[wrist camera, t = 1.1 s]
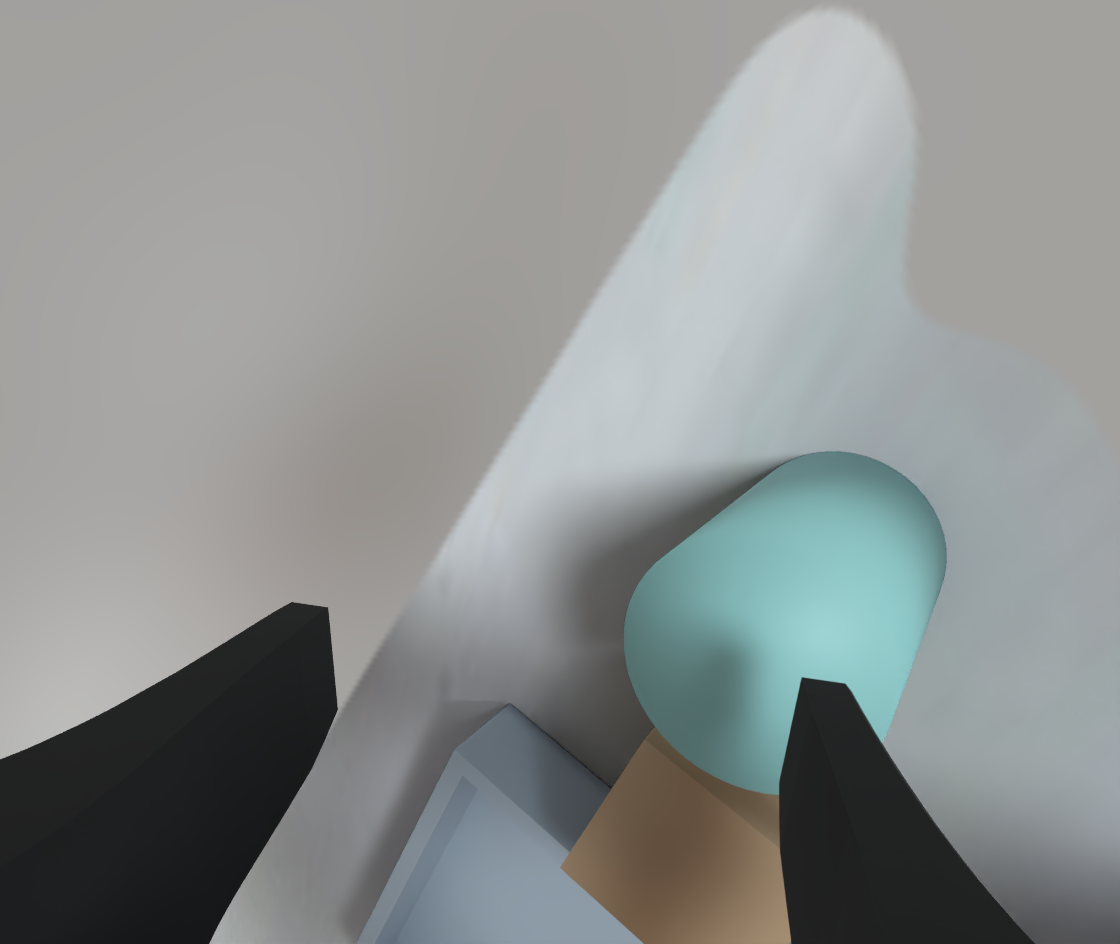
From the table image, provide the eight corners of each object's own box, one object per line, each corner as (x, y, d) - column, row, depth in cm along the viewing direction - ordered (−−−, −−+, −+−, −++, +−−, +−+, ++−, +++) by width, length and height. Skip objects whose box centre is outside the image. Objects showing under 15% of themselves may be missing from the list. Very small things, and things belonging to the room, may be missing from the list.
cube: (880, 769, 22) (835, 893, 18) (782, 881, 24) (722, 1014, 20) (719, 650, 24) (644, 739, 19) (642, 766, 26) (559, 867, 22)
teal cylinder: (993, 529, 19) (958, 656, 13) (870, 681, 21) (796, 847, 16) (802, 412, 21) (697, 480, 15) (707, 566, 23) (584, 676, 17)
